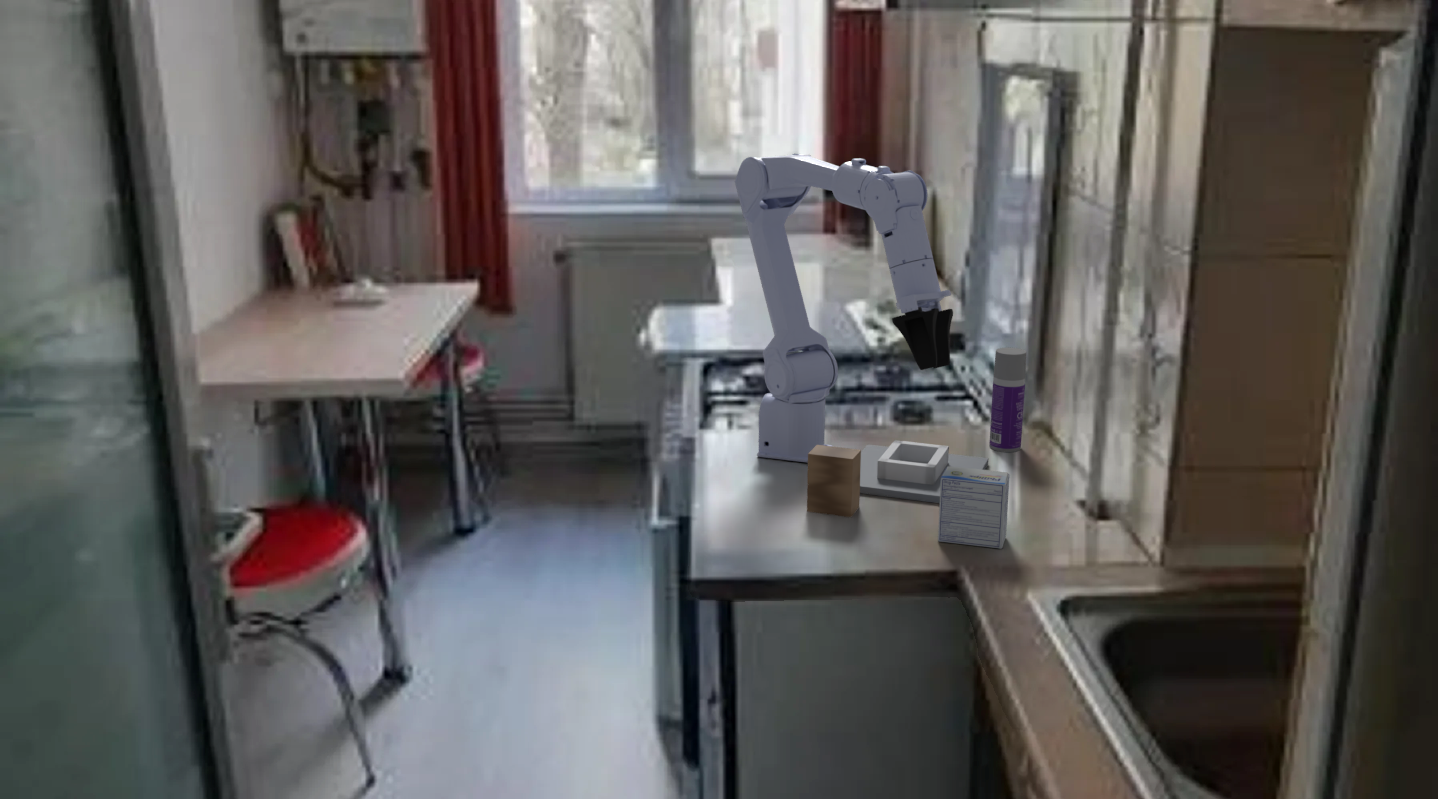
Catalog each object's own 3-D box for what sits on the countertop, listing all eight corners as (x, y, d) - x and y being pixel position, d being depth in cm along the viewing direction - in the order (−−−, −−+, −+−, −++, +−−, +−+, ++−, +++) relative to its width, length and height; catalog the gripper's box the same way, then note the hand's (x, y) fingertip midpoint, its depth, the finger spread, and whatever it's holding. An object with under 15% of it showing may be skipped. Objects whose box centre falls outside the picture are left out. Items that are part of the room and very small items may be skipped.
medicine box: (1006, 537, 158) (1010, 471, 156) (1002, 550, 154) (1006, 483, 152) (943, 529, 160) (946, 464, 158) (937, 542, 156) (940, 476, 154)
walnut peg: (806, 511, 167) (807, 453, 164) (815, 501, 170) (817, 444, 168) (851, 517, 165) (852, 459, 162) (859, 507, 168) (861, 449, 166)
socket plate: (833, 489, 174) (834, 465, 173) (867, 450, 190) (868, 428, 189) (964, 506, 168) (965, 481, 167) (988, 464, 184) (989, 441, 183)
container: (1021, 453, 189) (1027, 355, 185) (989, 451, 190) (994, 354, 186) (1020, 443, 194) (1026, 347, 189) (989, 441, 195) (994, 346, 190)
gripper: (928, 253, 155) (954, 361, 154) (953, 259, 168) (976, 359, 168) (874, 267, 158) (898, 374, 157) (902, 272, 171) (925, 371, 170)
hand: (935, 367), depth 163 cm, fingers open, 7 cm apart
